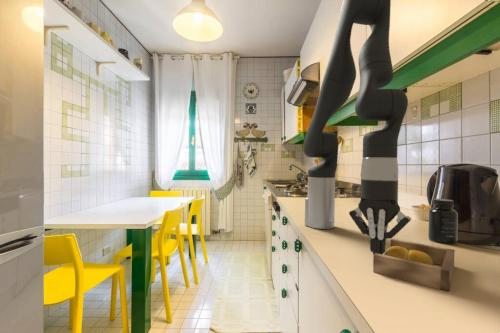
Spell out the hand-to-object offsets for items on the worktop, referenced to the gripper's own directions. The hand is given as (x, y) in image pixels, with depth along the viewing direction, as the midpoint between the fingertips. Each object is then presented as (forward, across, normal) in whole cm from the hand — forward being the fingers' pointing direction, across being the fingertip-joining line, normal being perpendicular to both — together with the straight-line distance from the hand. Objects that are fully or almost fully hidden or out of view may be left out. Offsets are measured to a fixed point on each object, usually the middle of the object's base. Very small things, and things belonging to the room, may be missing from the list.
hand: (377, 254), depth 59 cm
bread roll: (+2, -5, -2) cm, 6 cm away
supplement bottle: (+2, -9, -30) cm, 32 cm away
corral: (+1, -7, 0) cm, 7 cm away
